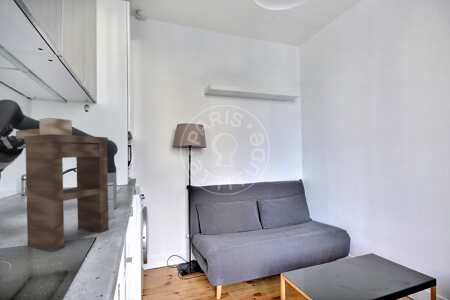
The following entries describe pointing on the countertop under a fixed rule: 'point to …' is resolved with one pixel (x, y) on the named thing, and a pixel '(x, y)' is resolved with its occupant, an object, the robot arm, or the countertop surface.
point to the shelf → (53, 187)
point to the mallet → (48, 128)
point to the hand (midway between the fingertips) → (27, 128)
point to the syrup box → (110, 201)
